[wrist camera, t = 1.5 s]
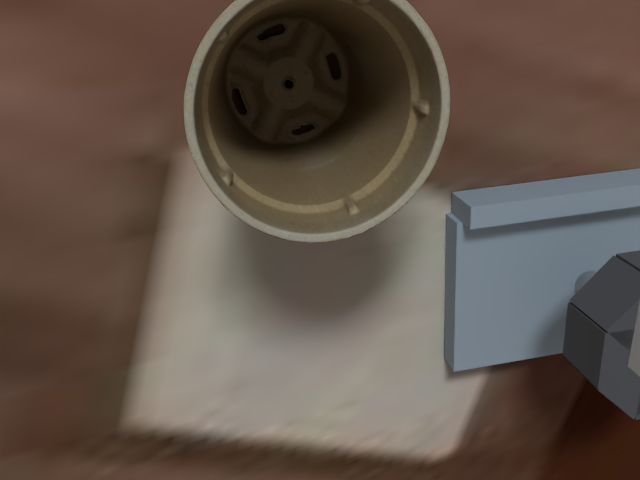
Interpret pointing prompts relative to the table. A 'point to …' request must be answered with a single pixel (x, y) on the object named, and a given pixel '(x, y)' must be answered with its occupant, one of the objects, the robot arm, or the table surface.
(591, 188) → the tray
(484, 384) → the table surface
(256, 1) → the flower pot
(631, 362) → the robot arm
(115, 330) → the table surface
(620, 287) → the faceted octagonal hub
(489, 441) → the table surface
